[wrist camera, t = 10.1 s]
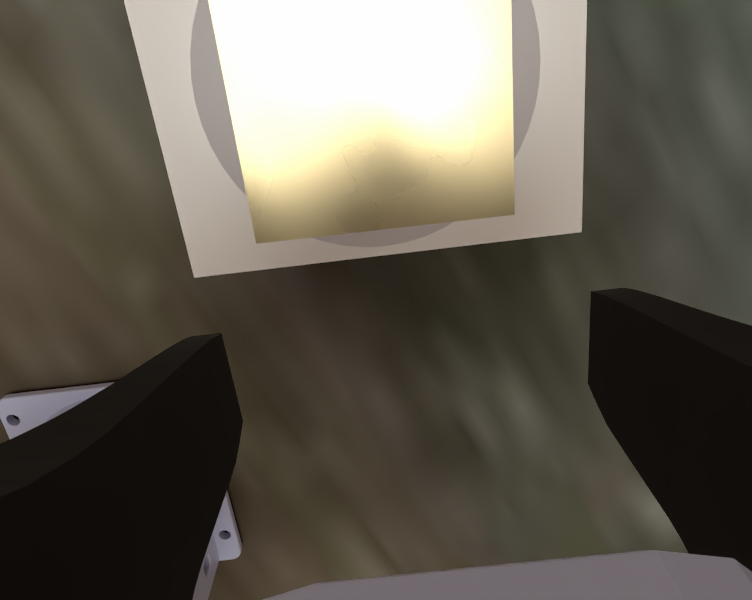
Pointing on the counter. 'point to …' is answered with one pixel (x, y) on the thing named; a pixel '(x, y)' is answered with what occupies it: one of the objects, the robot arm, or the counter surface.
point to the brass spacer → (369, 111)
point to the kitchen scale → (241, 253)
